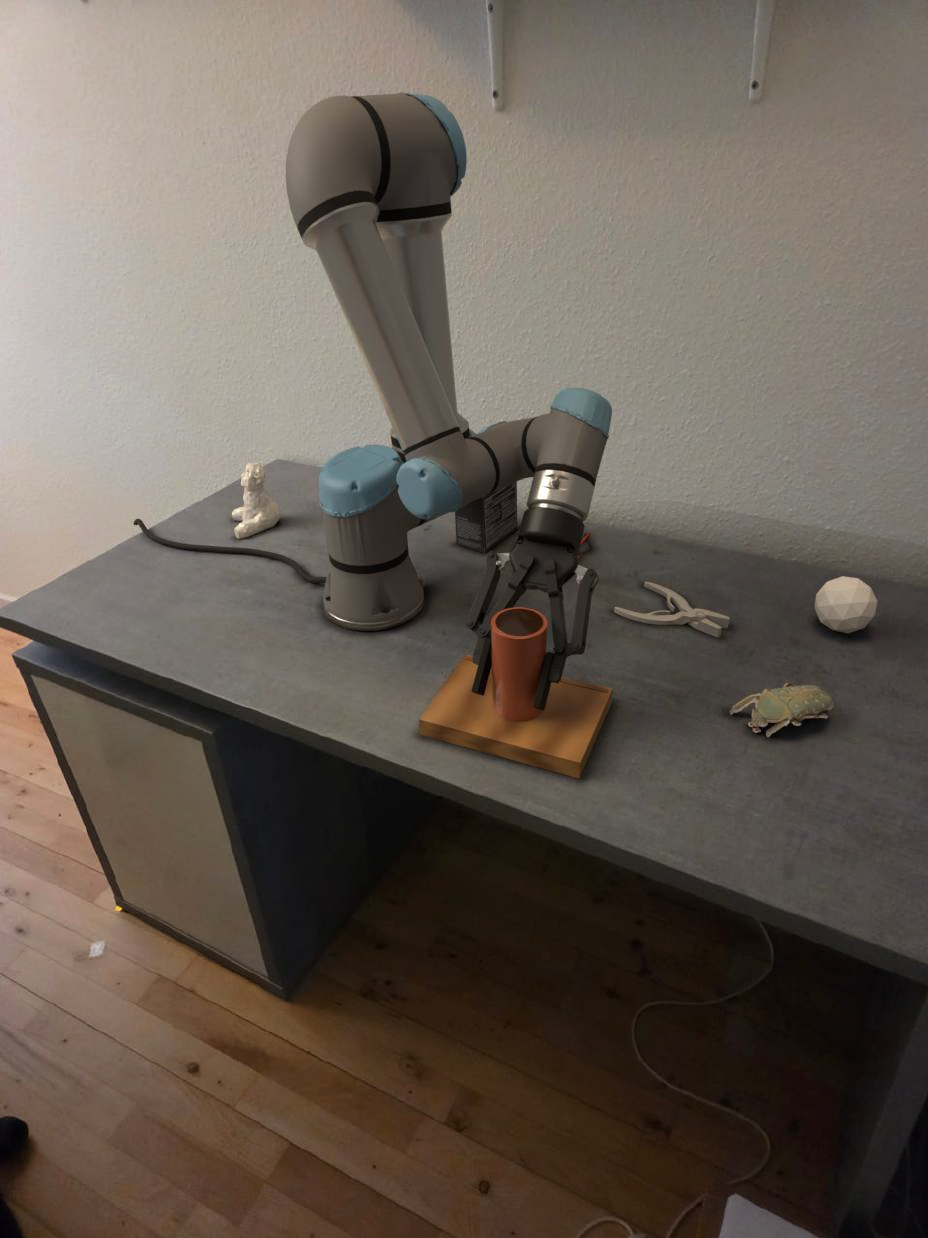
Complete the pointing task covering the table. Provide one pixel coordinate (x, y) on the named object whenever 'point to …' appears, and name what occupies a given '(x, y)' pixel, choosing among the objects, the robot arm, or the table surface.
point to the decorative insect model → (785, 706)
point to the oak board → (520, 722)
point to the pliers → (679, 613)
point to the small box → (487, 519)
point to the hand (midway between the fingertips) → (507, 700)
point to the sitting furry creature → (255, 504)
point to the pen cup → (517, 661)
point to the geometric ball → (845, 604)
